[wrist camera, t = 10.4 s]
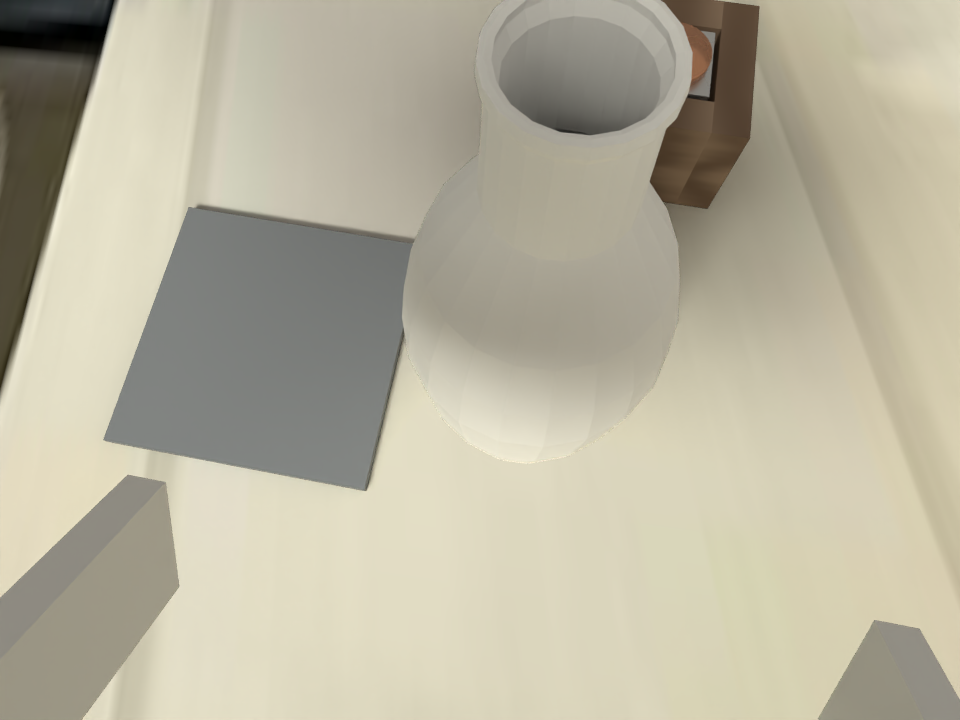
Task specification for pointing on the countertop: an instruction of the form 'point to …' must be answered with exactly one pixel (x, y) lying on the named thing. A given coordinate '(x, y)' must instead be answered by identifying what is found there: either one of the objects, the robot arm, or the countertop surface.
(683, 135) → the button housing
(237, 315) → the mat
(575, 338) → the bottle
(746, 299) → the countertop surface
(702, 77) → the release button
